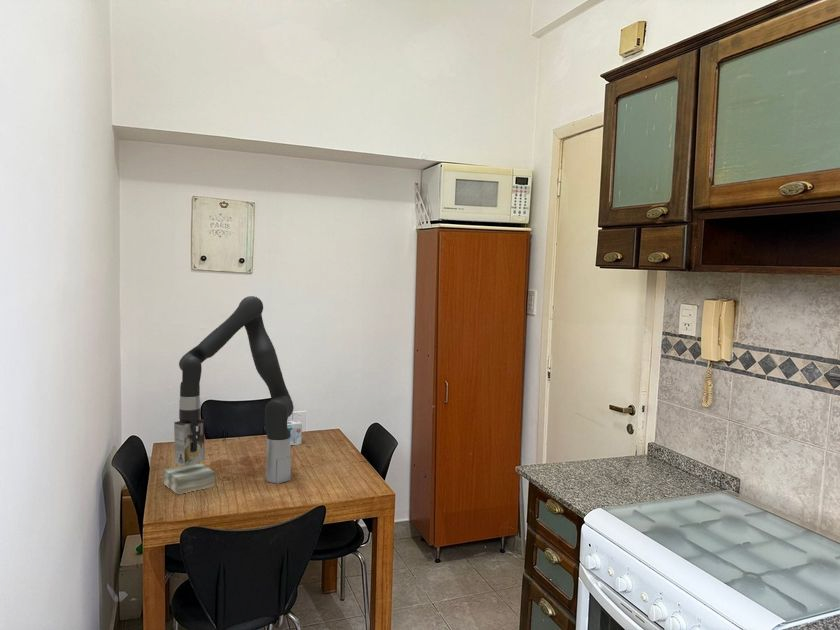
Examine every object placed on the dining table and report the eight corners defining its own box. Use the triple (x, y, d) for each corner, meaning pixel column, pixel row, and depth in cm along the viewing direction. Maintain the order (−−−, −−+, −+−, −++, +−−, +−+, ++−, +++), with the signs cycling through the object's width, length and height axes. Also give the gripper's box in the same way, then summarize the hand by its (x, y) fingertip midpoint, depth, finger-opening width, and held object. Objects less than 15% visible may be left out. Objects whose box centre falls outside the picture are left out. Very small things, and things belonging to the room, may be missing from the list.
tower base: (214, 486, 226) (214, 471, 226) (178, 495, 216) (178, 479, 216) (199, 477, 236) (199, 462, 236) (163, 484, 226) (163, 469, 226)
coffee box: (194, 457, 231) (194, 417, 230) (204, 460, 228) (205, 419, 227) (173, 463, 224) (173, 421, 223) (184, 466, 220) (184, 424, 219)
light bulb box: (280, 447, 281) (280, 425, 280) (276, 443, 286) (277, 421, 286) (302, 444, 286) (302, 423, 285) (298, 441, 291) (298, 420, 291)
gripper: (207, 409, 222) (207, 452, 223) (191, 402, 232) (191, 443, 233) (187, 412, 217) (187, 455, 218) (172, 405, 227) (172, 446, 228)
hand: (189, 449), depth 226 cm, fingers closed on coffee box, 7 cm apart
